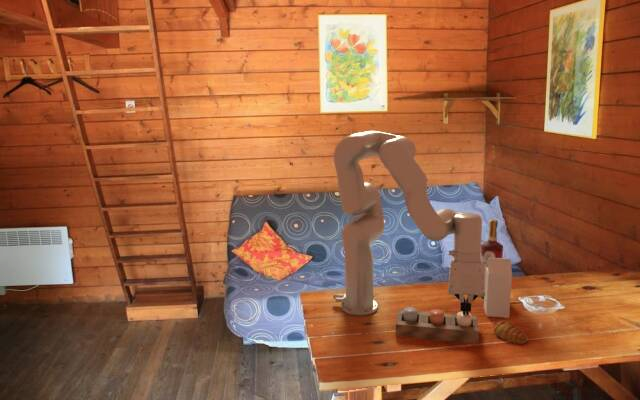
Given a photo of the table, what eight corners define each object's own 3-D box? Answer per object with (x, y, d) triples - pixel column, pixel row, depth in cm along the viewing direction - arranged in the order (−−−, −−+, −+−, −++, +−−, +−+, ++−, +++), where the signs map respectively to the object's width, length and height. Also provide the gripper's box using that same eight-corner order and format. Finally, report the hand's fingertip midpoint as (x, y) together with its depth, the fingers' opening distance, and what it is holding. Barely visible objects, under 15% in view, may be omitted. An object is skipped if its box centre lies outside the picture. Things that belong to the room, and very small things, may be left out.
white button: (456, 329, 144) (457, 317, 143) (456, 323, 148) (456, 311, 147) (471, 330, 143) (471, 318, 142) (470, 324, 147) (471, 312, 146)
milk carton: (509, 318, 155) (512, 262, 151) (486, 316, 156) (489, 261, 152) (505, 308, 162) (508, 255, 157) (483, 307, 163) (486, 254, 159)
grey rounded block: (402, 324, 148) (403, 312, 147) (403, 318, 152) (404, 306, 151) (416, 326, 147) (416, 314, 146) (417, 319, 151) (417, 307, 150)
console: (395, 336, 146) (395, 324, 145) (398, 320, 155) (398, 309, 154) (478, 344, 140) (478, 331, 139) (476, 327, 150) (476, 316, 149)
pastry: (532, 340, 142) (533, 329, 141) (518, 348, 138) (519, 336, 137) (504, 328, 149) (505, 317, 148) (490, 334, 146) (491, 323, 145)
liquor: (476, 297, 170) (480, 222, 164) (481, 290, 177) (485, 216, 170) (497, 301, 167) (502, 224, 160) (502, 294, 173) (506, 219, 166)
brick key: (429, 327, 146) (429, 315, 145) (429, 320, 150) (430, 308, 149) (443, 328, 145) (444, 316, 144) (443, 321, 149) (444, 310, 148)
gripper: (440, 258, 138) (439, 317, 142) (495, 261, 135) (493, 321, 139) (440, 250, 145) (440, 306, 149) (493, 252, 142) (490, 309, 146)
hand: (465, 313), depth 144 cm, fingers closed
